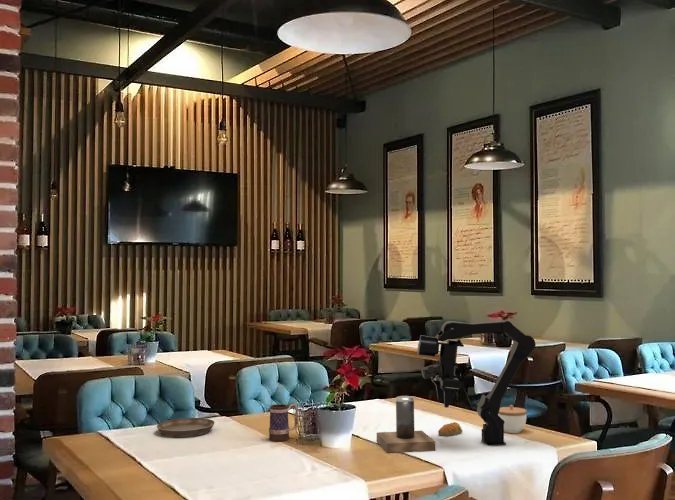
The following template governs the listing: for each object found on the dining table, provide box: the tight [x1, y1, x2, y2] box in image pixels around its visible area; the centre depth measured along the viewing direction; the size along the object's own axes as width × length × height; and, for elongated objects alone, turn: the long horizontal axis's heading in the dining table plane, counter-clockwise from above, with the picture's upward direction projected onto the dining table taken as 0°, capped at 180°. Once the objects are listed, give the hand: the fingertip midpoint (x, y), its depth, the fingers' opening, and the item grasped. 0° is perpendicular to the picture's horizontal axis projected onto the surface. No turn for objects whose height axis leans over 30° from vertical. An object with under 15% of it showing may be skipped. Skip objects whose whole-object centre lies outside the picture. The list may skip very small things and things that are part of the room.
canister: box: [395, 395, 415, 439], centre depth 246 cm, size 6×6×13 cm
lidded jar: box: [498, 404, 528, 434], centre depth 267 cm, size 11×11×9 cm
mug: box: [268, 403, 299, 443], centre depth 256 cm, size 10×7×12 cm
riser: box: [376, 430, 436, 454], centre depth 246 cm, size 16×16×3 cm
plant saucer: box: [156, 417, 216, 438], centre depth 269 cm, size 21×21×3 cm
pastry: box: [437, 421, 464, 437], centre depth 263 cm, size 9×7×4 cm
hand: (442, 404), depth 249 cm, fingers open, 9 cm apart
